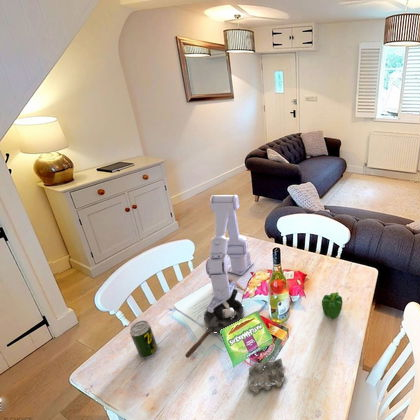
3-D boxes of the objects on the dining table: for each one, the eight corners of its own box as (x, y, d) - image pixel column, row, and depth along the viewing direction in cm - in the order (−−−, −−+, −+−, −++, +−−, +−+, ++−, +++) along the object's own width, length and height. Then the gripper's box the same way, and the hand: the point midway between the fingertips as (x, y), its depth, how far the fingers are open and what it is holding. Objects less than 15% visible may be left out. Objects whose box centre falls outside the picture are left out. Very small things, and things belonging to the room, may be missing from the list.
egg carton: (249, 395, 80) (247, 387, 78) (249, 371, 86) (248, 363, 85) (285, 387, 82) (284, 379, 80) (282, 364, 89) (282, 356, 87)
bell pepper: (326, 324, 104) (327, 305, 99) (318, 309, 110) (319, 290, 106) (345, 318, 106) (347, 299, 102) (337, 303, 113) (338, 285, 109)
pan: (221, 301, 112) (220, 294, 111) (251, 310, 108) (250, 304, 107) (196, 327, 100) (195, 321, 99) (228, 339, 96) (227, 332, 95)
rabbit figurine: (228, 324, 101) (211, 312, 102) (230, 324, 105) (213, 311, 106) (238, 310, 104) (222, 298, 104) (240, 310, 107) (224, 298, 108)
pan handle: (210, 328, 98) (209, 325, 97) (214, 330, 98) (213, 326, 97) (184, 357, 88) (183, 354, 87) (188, 359, 87) (187, 356, 87)
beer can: (137, 360, 88) (126, 335, 83) (142, 346, 93) (133, 321, 88) (155, 357, 90) (145, 332, 84) (160, 343, 94) (151, 318, 89)
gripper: (224, 270, 106) (228, 296, 112) (197, 295, 94) (204, 323, 100) (239, 275, 104) (243, 301, 110) (214, 301, 92) (219, 329, 98)
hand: (225, 312), depth 105 cm, fingers open, 6 cm apart
